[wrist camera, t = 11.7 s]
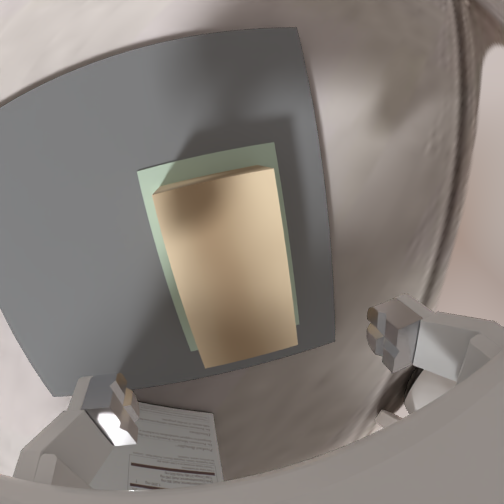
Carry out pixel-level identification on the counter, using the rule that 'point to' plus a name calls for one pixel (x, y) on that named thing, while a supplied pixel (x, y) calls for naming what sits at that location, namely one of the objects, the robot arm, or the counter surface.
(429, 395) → the spread jar
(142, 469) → the supplement box
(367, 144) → the counter surface
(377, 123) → the counter surface
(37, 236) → the rubber mat
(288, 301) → the maple card box
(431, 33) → the counter surface
